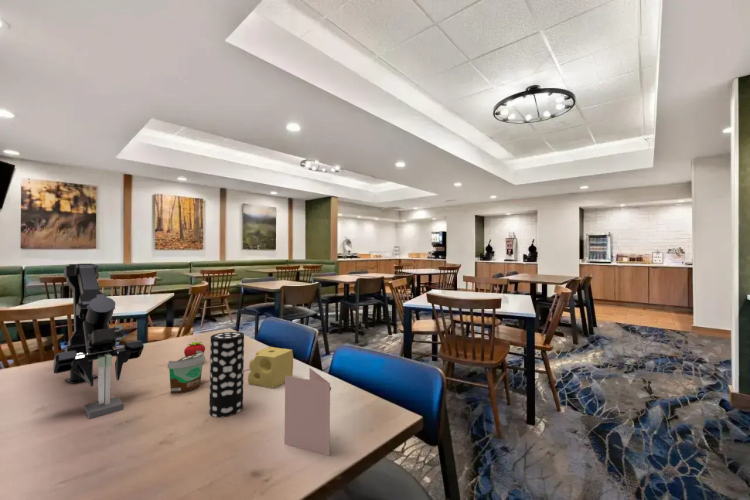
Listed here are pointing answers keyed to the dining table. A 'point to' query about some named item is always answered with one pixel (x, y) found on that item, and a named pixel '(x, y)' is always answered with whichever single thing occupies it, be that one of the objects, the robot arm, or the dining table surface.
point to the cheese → (270, 367)
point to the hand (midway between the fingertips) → (105, 382)
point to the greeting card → (307, 413)
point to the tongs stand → (109, 403)
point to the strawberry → (194, 348)
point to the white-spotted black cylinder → (226, 374)
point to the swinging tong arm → (100, 378)
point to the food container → (186, 373)
